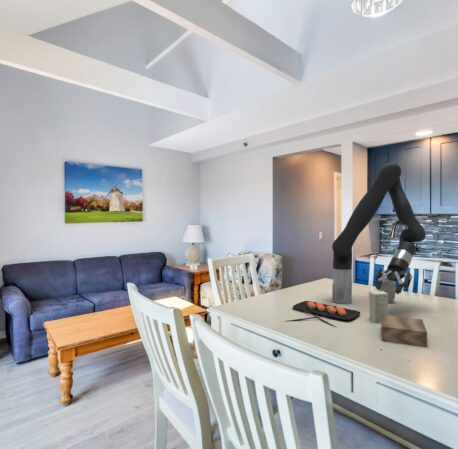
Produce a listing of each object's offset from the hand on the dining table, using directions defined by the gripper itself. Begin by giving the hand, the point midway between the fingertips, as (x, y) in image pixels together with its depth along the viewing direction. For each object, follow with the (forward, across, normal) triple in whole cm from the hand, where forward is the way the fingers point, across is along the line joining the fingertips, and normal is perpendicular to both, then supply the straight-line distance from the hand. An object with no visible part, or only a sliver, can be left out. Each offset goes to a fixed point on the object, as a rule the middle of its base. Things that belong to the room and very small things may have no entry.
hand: (387, 291), depth 137 cm
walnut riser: (+19, +14, -3) cm, 24 cm away
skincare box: (+13, 0, +4) cm, 14 cm away
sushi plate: (+25, -20, -7) cm, 32 cm away
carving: (-8, -13, +25) cm, 29 cm away
